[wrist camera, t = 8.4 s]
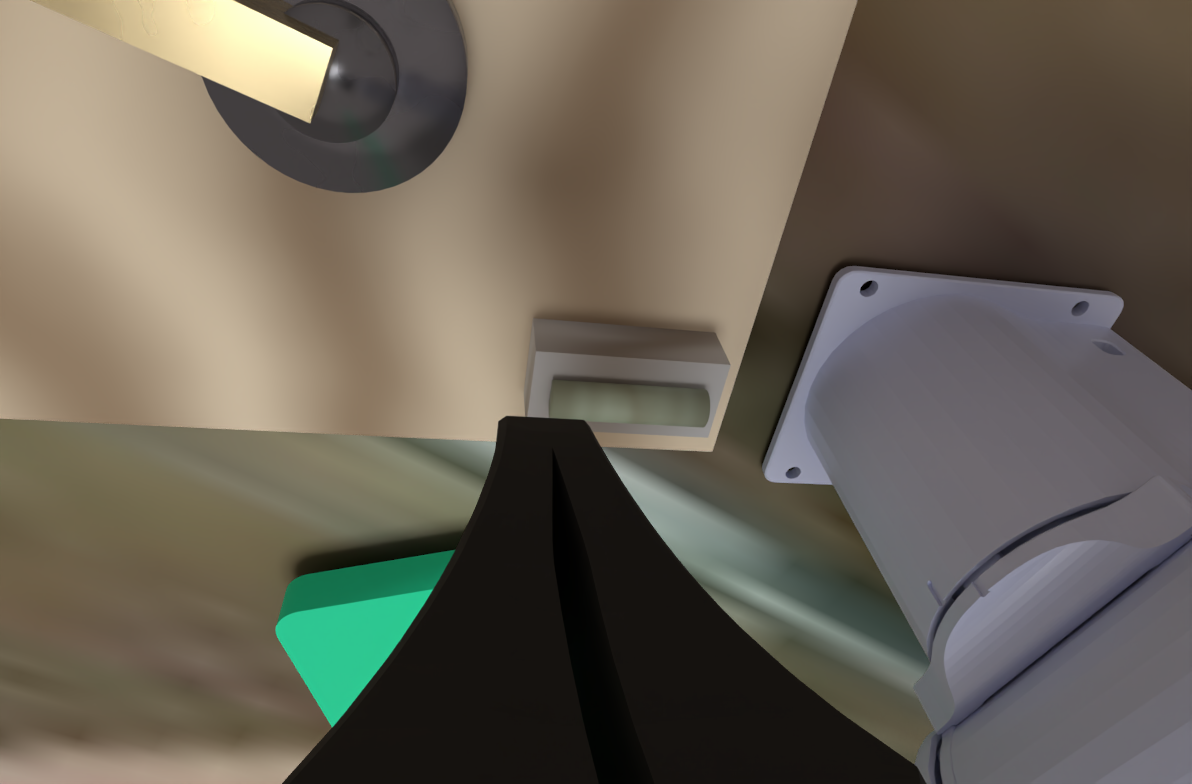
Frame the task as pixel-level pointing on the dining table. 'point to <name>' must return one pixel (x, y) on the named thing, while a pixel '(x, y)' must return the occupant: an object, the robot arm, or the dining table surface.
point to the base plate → (412, 232)
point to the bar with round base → (312, 77)
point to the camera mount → (352, 623)
